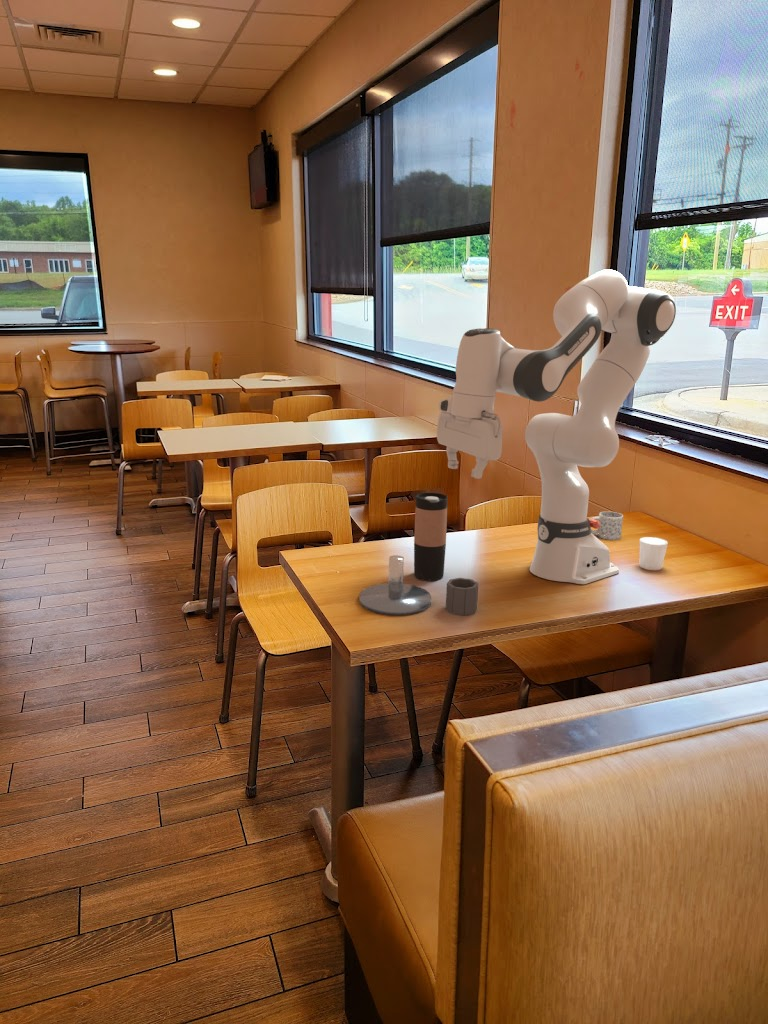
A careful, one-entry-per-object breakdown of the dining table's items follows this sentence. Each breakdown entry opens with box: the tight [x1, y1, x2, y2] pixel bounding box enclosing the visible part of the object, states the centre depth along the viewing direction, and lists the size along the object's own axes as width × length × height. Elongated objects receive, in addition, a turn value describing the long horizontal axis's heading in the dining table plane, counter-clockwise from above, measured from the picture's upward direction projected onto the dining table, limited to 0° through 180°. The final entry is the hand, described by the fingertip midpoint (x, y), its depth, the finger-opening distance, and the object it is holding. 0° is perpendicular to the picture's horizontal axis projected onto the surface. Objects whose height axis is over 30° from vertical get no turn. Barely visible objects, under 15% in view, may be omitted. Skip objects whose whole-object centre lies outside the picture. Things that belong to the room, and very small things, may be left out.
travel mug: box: [413, 492, 448, 582], centre depth 182 cm, size 8×8×20 cm
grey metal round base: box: [358, 554, 432, 616], centre depth 167 cm, size 16×16×10 cm
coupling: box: [445, 577, 479, 616], centre depth 164 cm, size 6×6×6 cm
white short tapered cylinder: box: [638, 536, 669, 571], centre depth 193 cm, size 7×7×7 cm
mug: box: [588, 510, 624, 541], centre depth 218 cm, size 10×7×7 cm, turn 94°
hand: (464, 473), depth 160 cm, fingers open, 8 cm apart
